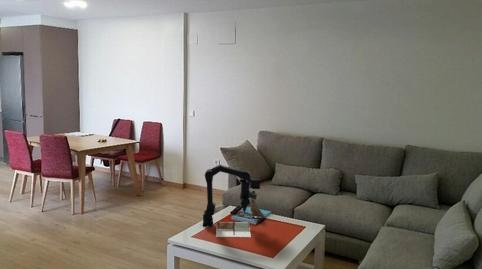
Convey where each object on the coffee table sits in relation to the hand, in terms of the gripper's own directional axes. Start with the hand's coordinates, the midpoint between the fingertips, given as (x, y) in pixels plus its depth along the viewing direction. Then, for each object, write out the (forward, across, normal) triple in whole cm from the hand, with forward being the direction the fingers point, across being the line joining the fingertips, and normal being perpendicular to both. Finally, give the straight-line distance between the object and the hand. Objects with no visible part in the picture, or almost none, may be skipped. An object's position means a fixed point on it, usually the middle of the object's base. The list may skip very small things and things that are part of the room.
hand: (244, 210), depth 271 cm
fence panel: (+11, -6, +1) cm, 13 cm away
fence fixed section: (+12, -6, +12) cm, 18 cm away
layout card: (+12, -11, +7) cm, 18 cm away
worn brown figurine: (+12, +17, -11) cm, 24 cm away
